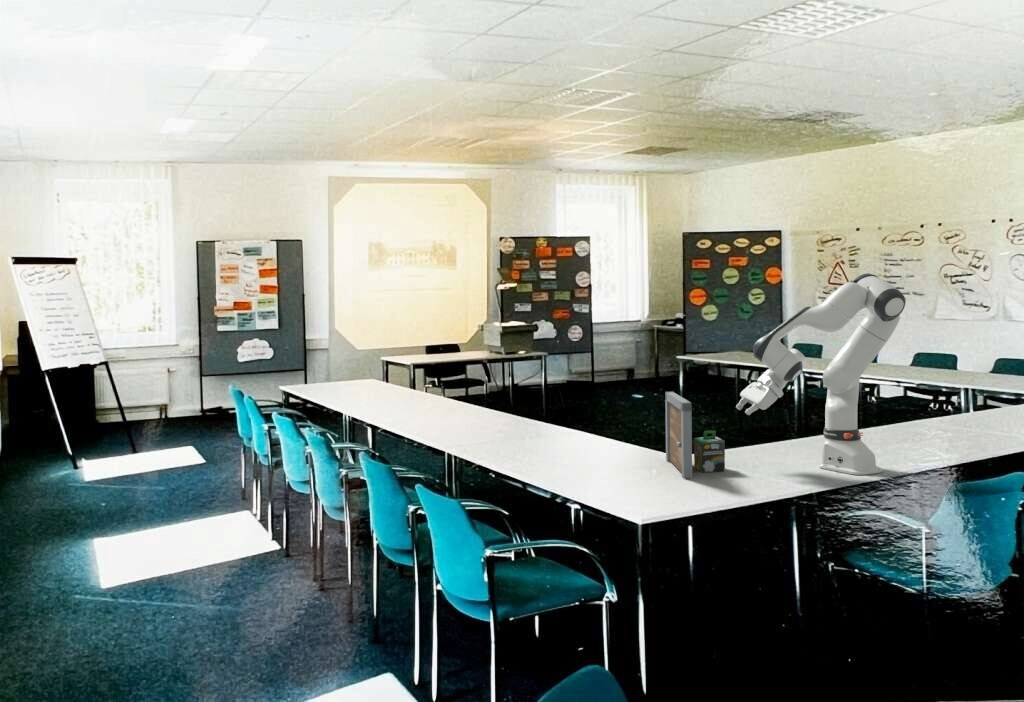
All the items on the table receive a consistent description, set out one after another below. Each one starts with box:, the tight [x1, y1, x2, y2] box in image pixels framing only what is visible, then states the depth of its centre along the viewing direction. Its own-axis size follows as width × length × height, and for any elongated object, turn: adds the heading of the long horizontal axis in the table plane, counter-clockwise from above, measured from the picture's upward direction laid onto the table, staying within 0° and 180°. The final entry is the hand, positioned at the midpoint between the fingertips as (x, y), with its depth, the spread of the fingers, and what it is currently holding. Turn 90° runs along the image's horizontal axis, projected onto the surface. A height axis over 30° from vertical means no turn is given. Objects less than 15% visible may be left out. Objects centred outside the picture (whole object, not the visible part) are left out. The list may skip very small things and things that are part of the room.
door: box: [670, 403, 682, 474], centre depth 304 cm, size 3×24×23 cm, turn 0°
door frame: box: [664, 391, 693, 479], centre depth 304 cm, size 3×32×27 cm, turn 0°
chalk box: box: [693, 429, 726, 473], centre depth 302 cm, size 9×9×15 cm
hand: (741, 411), depth 303 cm, fingers open, 8 cm apart
